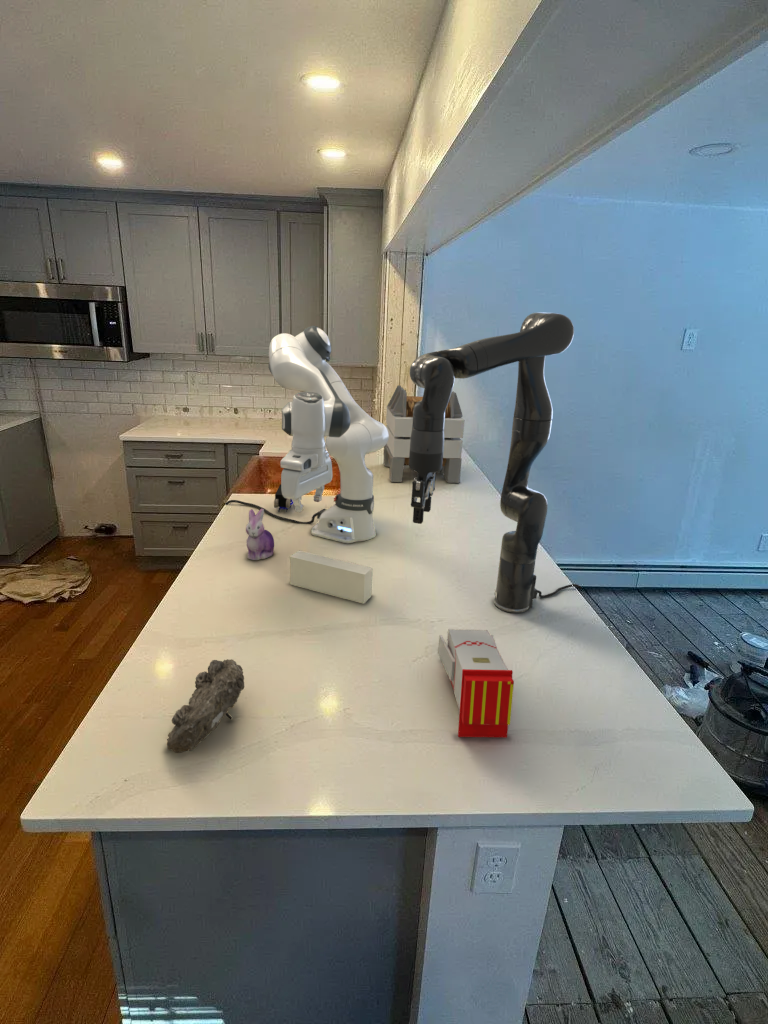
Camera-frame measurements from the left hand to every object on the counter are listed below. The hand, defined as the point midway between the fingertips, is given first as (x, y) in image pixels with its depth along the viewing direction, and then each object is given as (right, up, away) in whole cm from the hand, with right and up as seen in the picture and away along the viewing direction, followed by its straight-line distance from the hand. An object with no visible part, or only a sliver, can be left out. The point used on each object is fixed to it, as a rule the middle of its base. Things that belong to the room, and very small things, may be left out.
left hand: (308, 506), depth 153 cm
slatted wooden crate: (+38, +17, +122) cm, 129 cm away
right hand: (+29, -3, -21) cm, 36 cm away
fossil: (-12, -41, -45) cm, 62 cm away
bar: (+5, -23, +6) cm, 25 cm away
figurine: (-19, -15, +25) cm, 35 cm away
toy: (+38, -39, -34) cm, 65 cm away
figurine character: (-18, 0, +67) cm, 70 cm away
